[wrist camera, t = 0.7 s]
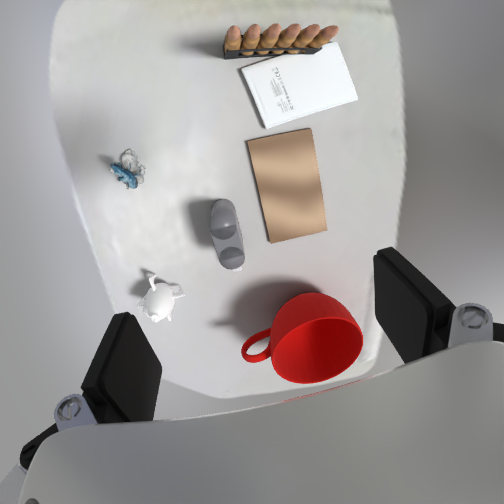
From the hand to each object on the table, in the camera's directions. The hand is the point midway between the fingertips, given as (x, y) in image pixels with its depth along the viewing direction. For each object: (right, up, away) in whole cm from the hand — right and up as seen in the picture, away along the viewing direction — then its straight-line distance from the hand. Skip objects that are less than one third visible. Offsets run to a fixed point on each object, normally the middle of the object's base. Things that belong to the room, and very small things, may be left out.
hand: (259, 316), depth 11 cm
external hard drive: (+6, +23, +22) cm, 33 cm away
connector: (-4, +6, +29) cm, 30 cm away
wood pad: (+5, +11, +28) cm, 30 cm away
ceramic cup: (+6, -7, +37) cm, 38 cm away
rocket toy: (-13, -3, +33) cm, 36 cm away
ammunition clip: (+2, +27, +20) cm, 33 cm away
